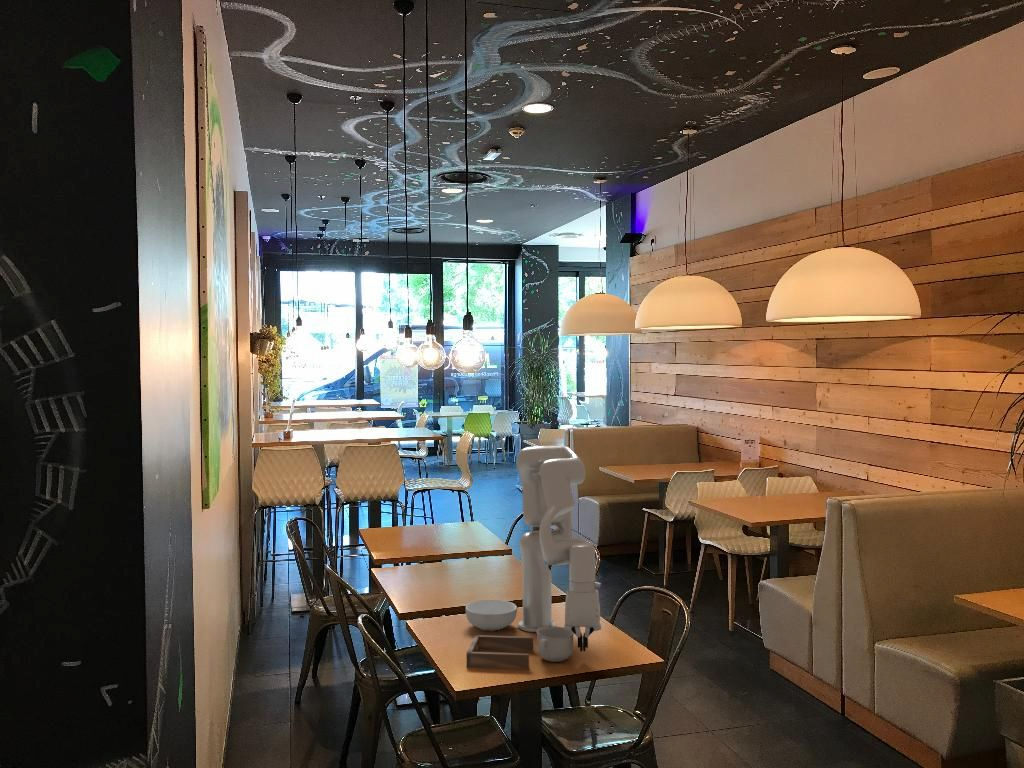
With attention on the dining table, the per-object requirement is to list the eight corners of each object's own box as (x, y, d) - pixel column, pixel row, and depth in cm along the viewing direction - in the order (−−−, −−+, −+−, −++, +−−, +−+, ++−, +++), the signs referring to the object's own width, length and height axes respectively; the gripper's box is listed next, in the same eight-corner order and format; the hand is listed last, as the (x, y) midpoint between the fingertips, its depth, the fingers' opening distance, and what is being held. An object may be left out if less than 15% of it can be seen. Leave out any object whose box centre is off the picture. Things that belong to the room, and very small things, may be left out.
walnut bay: (475, 648, 250) (475, 635, 250) (533, 650, 248) (533, 637, 248) (466, 667, 233) (466, 653, 233) (528, 669, 232) (528, 655, 231)
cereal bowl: (455, 631, 267) (455, 609, 267) (481, 617, 282) (481, 597, 282) (501, 638, 259) (501, 616, 259) (525, 624, 274) (525, 603, 274)
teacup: (553, 650, 248) (552, 623, 248) (582, 657, 240) (581, 629, 240) (522, 662, 237) (521, 635, 237) (551, 670, 230) (550, 642, 230)
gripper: (608, 583, 241) (608, 646, 241) (557, 583, 242) (557, 645, 242) (608, 590, 233) (609, 654, 233) (555, 589, 235) (556, 653, 235)
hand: (582, 649), depth 238 cm, fingers closed
